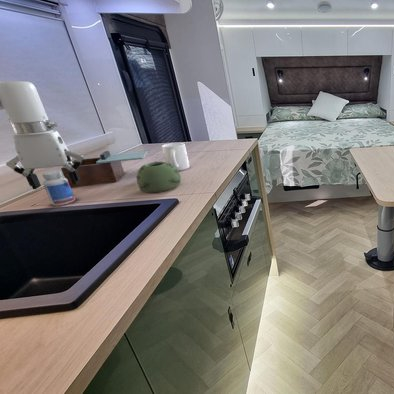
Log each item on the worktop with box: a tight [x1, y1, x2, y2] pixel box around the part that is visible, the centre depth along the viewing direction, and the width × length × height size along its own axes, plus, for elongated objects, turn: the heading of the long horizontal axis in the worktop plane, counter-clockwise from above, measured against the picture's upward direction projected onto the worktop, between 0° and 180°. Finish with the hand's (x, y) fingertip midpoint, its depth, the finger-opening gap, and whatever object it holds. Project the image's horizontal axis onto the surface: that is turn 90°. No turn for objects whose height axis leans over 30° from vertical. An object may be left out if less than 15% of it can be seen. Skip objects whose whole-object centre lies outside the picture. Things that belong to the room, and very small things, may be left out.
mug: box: [161, 142, 191, 172], centre depth 120 cm, size 12×8×10 cm
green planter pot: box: [136, 160, 182, 193], centre depth 102 cm, size 16×13×9 cm
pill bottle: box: [42, 170, 76, 206], centre depth 89 cm, size 6×5×10 cm
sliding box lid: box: [96, 150, 149, 164], centre depth 112 cm, size 14×13×2 cm
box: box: [60, 156, 125, 189], centre depth 110 cm, size 14×13×7 cm
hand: (57, 185), depth 88 cm, fingers open, 8 cm apart
